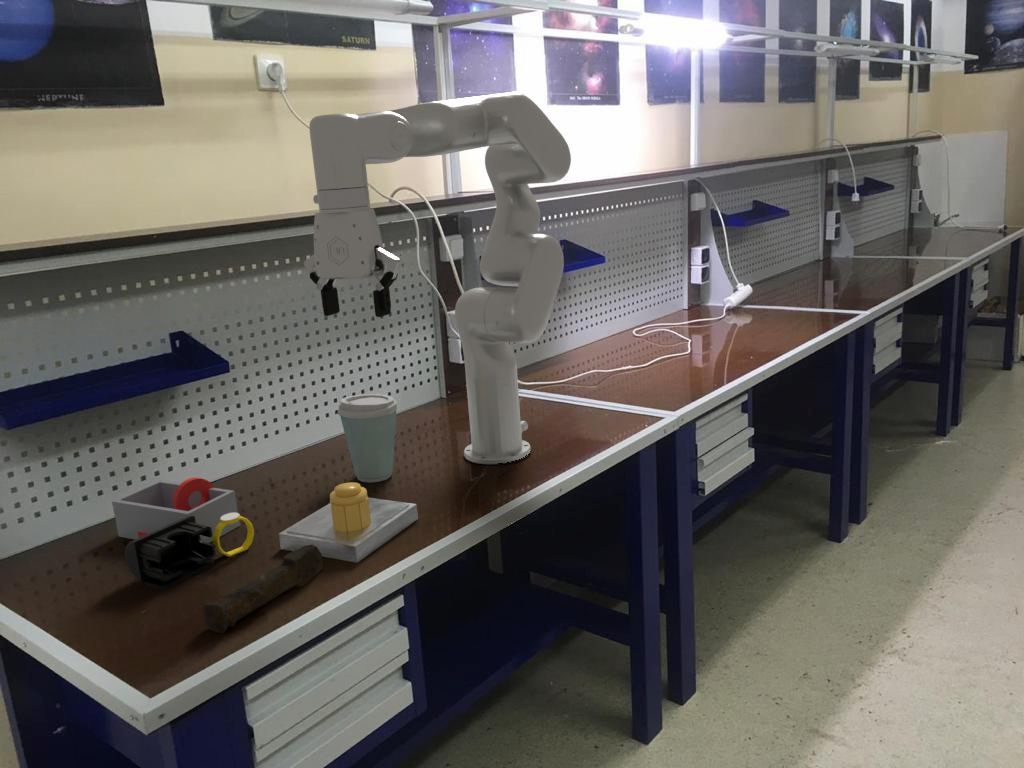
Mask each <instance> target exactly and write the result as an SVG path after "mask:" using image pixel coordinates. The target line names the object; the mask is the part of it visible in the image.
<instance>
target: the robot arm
mask: <svg viewBox="0 0 1024 768" xmlns="http://www.w3.org/2000/svg"><path fill="white" fill-rule="evenodd" d="M308 127H309V137H310V139H309V140H310V146H311V153H312V162H313V171H314V178H315V184H316V185H315V186H316V193H317V194H315V195H314V196H313V203H314V204H315V205H318V209H319V212H315V213H314V221H313V252H314V253H313V254H312V255H311V256H309V257H308V258H307V259H305V260H304V262H303V265H304V268H305V270H306V272H307V274H309V279H310V280H311V281H312V282H313V283H314V284H315V285H316V289H317V290H318V291H320V296H321V304H322V310H323V316H324V317H330V316H332V315H336V314H339V313H340V311H341V309H340V302H339V301H340V300H339V294H338V287H336V286H335V287H334V285H335V284H336V281H337V280H362V279H366V278H367V279H368V280H369V282H370V283H371V284H372V286H373V287H374V288H375V290H373V292H372V298H373V307H374V314H375V315H374V316H376V317H377V318H382V317H384V316H385V317H386V316H388V315H390V314H391V312H392V311H391V310H392V309H391V308H392V303H391V295H390V294H391V293H390V288H393V283H394V282H395V281H396V279H397V278H398V276H399V275H398V272H400V268H401V264H402V260H401V258H399V257H398V256H396V255H394V254H393V253H390V252H389V251H387V250H385V249H384V247H383V241H382V240H383V239H382V234H381V230H380V226H379V223H378V218H377V216H376V212H375V210H374V208H371V200H370V192H369V184H368V173H367V165H378V164H379V165H380V164H389V163H396V162H398V161H400V160H402V159H403V158H425V157H426V158H427V157H428V158H429V157H435V156H444V155H449V154H452V153H454V154H455V153H458V152H459V153H460V152H463V151H468V150H476V149H479V148H480V149H481V148H485V147H487V149H486V152H485V155H484V165H485V170H486V174H487V176H488V178H489V181H490V183H491V187H492V189H493V193H494V196H495V197H494V198H495V204H496V207H495V213H494V216H493V220H492V223H491V227H490V230H489V231H488V232H489V233H488V234H487V238H486V241H485V244H484V248H483V251H482V254H481V258H480V261H479V262H480V263H479V272H480V274H481V276H482V278H483V279H484V280H485V281H487V282H488V283H491V284H493V285H496V286H497V285H498V286H504V287H505V288H504V287H490V286H487V287H486V286H485V287H484V286H483V287H482V286H481V287H480V286H479V287H474V288H471V289H468V290H466V291H465V292H463V293H462V294H461V295H460V296H459V298H458V299H457V301H456V303H455V306H454V307H455V308H454V319H455V325H456V329H457V332H458V335H459V340H460V343H461V347H462V352H463V361H464V368H465V369H464V370H465V372H464V373H465V382H466V395H467V404H468V405H467V407H468V416H469V419H468V420H469V428H470V429H469V430H470V440H471V442H470V444H469V445H467V446H466V447H465V448H464V449H463V455H464V458H465V459H466V460H467V461H469V462H472V463H474V464H479V465H480V464H481V465H499V464H498V463H503V464H508V463H507V462H509V463H512V462H511V461H514V462H516V461H515V460H517V461H520V460H522V459H524V458H526V457H527V456H529V455H528V454H529V453H531V452H532V450H531V449H532V448H531V445H530V443H529V442H528V441H527V440H523V438H522V437H523V436H522V434H523V432H525V431H526V430H528V428H529V424H528V422H527V421H526V420H521V412H520V411H521V409H520V397H519V396H520V395H519V385H518V384H519V379H518V367H517V365H518V364H517V360H516V359H517V358H516V356H515V353H514V350H513V349H512V348H513V347H512V346H511V344H510V343H513V344H530V343H534V342H535V341H538V340H539V338H541V336H542V335H543V333H544V331H545V329H546V328H547V326H548V323H549V319H550V316H551V313H552V310H553V306H554V303H555V301H556V297H557V295H558V291H559V287H560V285H561V280H562V278H563V273H564V265H565V261H564V259H565V258H564V252H563V249H562V246H561V244H560V242H558V240H557V239H556V237H553V236H551V235H548V234H544V233H538V231H539V227H540V222H541V210H540V207H539V204H538V202H537V200H536V197H535V196H534V194H533V193H532V191H531V189H530V186H529V185H531V184H550V183H555V182H559V181H561V180H562V179H564V177H565V176H566V175H567V174H568V173H569V170H570V168H571V162H572V161H571V160H572V156H571V155H572V154H571V151H570V147H569V144H568V142H567V141H566V139H565V137H564V135H562V134H561V132H560V130H558V129H557V127H556V126H555V125H554V124H553V123H552V121H551V120H550V118H549V117H548V116H547V115H546V114H545V113H544V111H542V109H541V108H540V107H539V105H538V104H536V103H535V101H533V100H532V99H531V98H529V97H528V96H527V95H525V94H523V93H521V92H519V91H511V92H503V93H494V94H486V95H477V96H469V97H462V98H453V99H444V100H437V101H435V100H434V101H430V102H422V103H418V104H414V105H410V106H406V107H402V108H395V109H392V110H385V111H376V112H374V111H373V112H367V113H358V114H352V113H328V114H321V115H316V116H314V117H312V118H311V120H310V122H309V125H308ZM385 265H386V266H387V270H386V272H385V268H386V267H385ZM506 286H507V287H517V288H506ZM530 451H531V452H530ZM526 455H527V456H526ZM525 456H526V457H525ZM523 457H524V458H523ZM521 458H522V459H521ZM519 459H520V460H519Z"/></svg>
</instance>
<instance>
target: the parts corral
mask: <svg viewBox="0 0 1024 768" xmlns="http://www.w3.org/2000/svg"><path fill="white" fill-rule="evenodd" d="M181 483H182V482H176V481H168V480H162V479H161V480H160V479H159V480H157V481H155V482H153V483H150V484H148V485H145V486H144V487H141V488H140V489H137V490H134V491H132V492H130V493H128V494H125V495H123V496H121V497H118V498H116V499H114V500H112V501H111V504H112V509H113V514H114V519H115V525H116V529H117V533H118V537H120V538H126V539H131V540H136V539H138V538H139V536H138V532H142V533H147V534H149V533H151V532H154V531H156V530H158V529H160V528H163V527H165V526H167V525H169V524H172V523H174V522H176V521H178V520H181V519H183V518H185V517H187V516H195V521H196V523H197V524H201V525H205V526H209V527H211V530H212V536H213V534H214V531H215V528H216V527H217V525H218V524H219V523H220V522H221V519H220V518H221V517H222V516H223V515H225V514H228V513H239V511H238V506H237V503H238V502H237V498H236V492H235V490H231V489H223V488H220V487H219V488H218V487H214V488H210V489H208V491H209V497H210V501H208V502H206V503H204V504H202V505H200V506H198V507H196V508H194V509H192V510H190V511H183V510H177V509H174V507H173V497H174V493H175V491H176V489H177V488H178V486H179V485H180V484H181ZM201 499H202V495H201V493H200V491H195V492H193V493H192V494H191V495H190V497H189V499H188V503H189V506H190V507H195V506H197V505H198V504H199V503H200V502H201ZM240 526H241V523H240V520H239V521H238V522H236V523H233V524H227V525H226V526H225V527H224V528H223V529H222V532H221V535H220V537H219V538H221V537H222V536H224V535H226V534H228V533H229V532H231V531H233V530H235V529H237V528H238V527H240ZM200 538H201V540H202V541H203V542H206V543H210V544H211V542H213V537H206V536H202V535H200Z"/></svg>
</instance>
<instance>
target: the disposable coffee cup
mask: <svg viewBox="0 0 1024 768" xmlns="http://www.w3.org/2000/svg"><path fill="white" fill-rule="evenodd" d="M398 409H399V407H398V404H397V399H396V398H394V397H393V396H390V395H387V394H383V393H382V394H381V393H365V394H355V395H350V396H349V395H348V396H345V397H343V398H341V399H340V403H339V404H338V411H337V414H338V415H339V417H340V420H341V423H342V427H343V432H344V436H345V440H346V444H347V447H348V452H349V455H350V459H351V462H352V463H351V464H352V467H353V470H354V471H353V472H354V474H355V477H356V478H357V480H358V481H360V482H363V483H378V482H382V481H386V480H388V479H389V478H390V477H392V473H393V472H394V457H395V456H394V455H395V454H394V453H395V440H396V439H395V438H396V437H395V436H396V424H397V423H396V421H397V410H398Z"/></svg>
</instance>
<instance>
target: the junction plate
mask: <svg viewBox="0 0 1024 768" xmlns="http://www.w3.org/2000/svg"><path fill="white" fill-rule="evenodd" d="M368 501H369V509H370V518H371V524H370V525H368V526H367V527H365V528H364V529H362V530H357V531H351V532H348V531H347V532H342V531H336V530H335V529H334V526H333V520H332V513H331V505H330V502H328V504H326V505H325V506H323V507H321V508H320V509H317V510H316V511H314V512H313V513H311V514H309V515H307V516H306V517H305V518H303V519H301V520H300V521H297V522H296V523H294V524H293V525H291V526H289V527H287V528H286V529H284V530H283V531H280V532H279V533H278V538H279V545H280V550H284V551H290V552H293V551H295V550H298V549H300V548H301V547H303V546H306V545H314V546H317V548H318V549H319V551H320V553H321V554H322V558H323V557H324V558H329V559H335V560H339V561H344V562H350V563H357V564H358V563H359V562H361V561H362V560H363V559H365V558H366V557H368V556H369V555H371V554H372V553H373V552H374V551H376V550H377V549H379V548H380V547H381V546H383V545H384V544H386V543H387V542H389V541H390V540H391V539H392V538H394V537H395V536H396V535H398V534H399V533H401V532H403V530H405V529H407V528H408V527H409V526H411V525H412V524H413V523H414V522H416V521H417V520H419V515H418V514H419V513H418V505H417V503H411V502H405V501H404V502H403V501H397V500H390V499H389V500H388V499H380V498H375V497H368Z"/></svg>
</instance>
